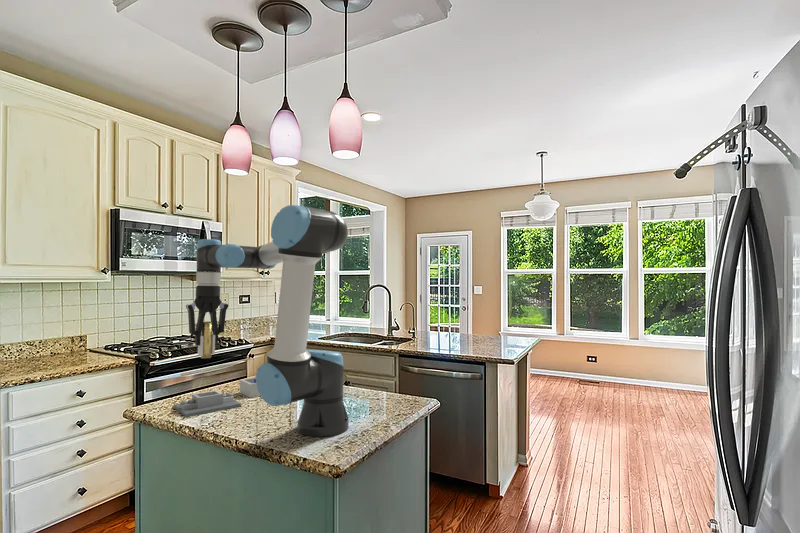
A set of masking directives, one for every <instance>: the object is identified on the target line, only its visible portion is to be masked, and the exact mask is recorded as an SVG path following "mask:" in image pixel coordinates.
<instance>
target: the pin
mask: <svg viewBox="0 0 800 533" xmlns="http://www.w3.org/2000/svg"><path fill="white" fill-rule="evenodd" d="M212 334H213V333H212V322H211V320H210V321H208V320H207V321H205V320H204V322H203V327H202V332H201V335H202V336H203V356H200V359H211V358H212V354H211V350H212Z"/></svg>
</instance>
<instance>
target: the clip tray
mask: <svg viewBox="0 0 800 533" xmlns="http://www.w3.org/2000/svg"><path fill="white" fill-rule="evenodd" d="M254 379H256V376H255V377H250V378H243V379H242V378H241V379H240V380H239V393H240V394H242V395H244V396H246V397H248V398H255V397H261V395H260V393H259V392H258V389H257V385H256V383H254Z"/></svg>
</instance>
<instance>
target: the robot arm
mask: <svg viewBox="0 0 800 533" xmlns="http://www.w3.org/2000/svg"><path fill="white" fill-rule="evenodd" d="M270 229H271V230H270V236H271V237H270V238H271V239H272V240H271V242H267V243H265V244H263V245H260V246H259V245H258V246H251V245H250V246H247V245H238V244H232V243H225V244H222V241H221V240H220V239H215V238H214V239H211V238H208V239H207V238H205V239H204V238H203V239H202V238H201V239H199V240H198V241H197V246H196V247H197V248H196V279H195V280H196V282H195V283H196V286H195V300H194V301H193V302H192V303H190V304H186V305H185V308H186V309H187V314H188V315H187V316H188V317H187V318H188V332H189V334H190V335H193V336H195V337H194V338H195V339H194V340H195V342H194V344H195V346H197V355H198V356H199V357H201V356H203V336H202V327H203V322H205V316H206V314H207V313H208V314H209V317H210V321H211V322H212V350H211V356H212V355H215V354H216V345H217V344H218V343H219V335H220V334H221V333H224V332H225V324H226V314H227V310H228V307H229V304H228V303H224V302H222V300H221V286H220V285H221V275H222V274H221V268H227V269H256V270H257V269H261V270H268V269H274V268H275V266H277V264H280V263H282V270H281V277H280V278H281V279H280V289H279V297H278V298H279V300H278V307H277V316H276V318H277V319H276V326H275V327H276V328H275V335H274V336H275V337H274V338H275V339H274V345H273V348H272V349H271V350H269V351H268V352H267V356H266V362H265V363H262V364H260V366H259V367H257V369H256V372H255V373H256V374H255V377H256V385H257V389H258V392H259V393H260V395H261V396H260V397H261V399H262V400H263V401H264V402H265V403H266V404H267V405H270V406H271V407H279V406H287V405H289V404H292V403H295V402H299V401H302V400H303V405H302V407H301V411H300V412H299V418H298V420H297V428H296V429H297V432H298V433H299V434H302V435H304V436H308V437H319V438H321V437H331V436H335V435H339V434H342V433H344V432H346V431H347V430H348V429H349V417H348V414H347V409H346V406H345V404H344V373H345V372H344V368H345V365H344V356H343V354H342V353H341V352H338V351H334V350H333V351H332V350H322V349H321V350H320V349H307V345H308V337H309V336H308V334H309V327H310V326H309V324H310V315H311V307H312V306H311V305H312V300H313V299H312V298H313V290H314V281H315V280H314V279H315V272H316V271H315V269H316V265H317V263H318V262H320V261H321V260H322V258H323V254H328V253H331V252H335V251H337V250H339V249H341V248H342V247H343V246H344V245H345V243H346V242H347V239H348V237H349V236H348V235H349V231H348V225H347V223H346V221H345V220H344V218H343V217H342V216H341V215H340V214H338V213H337V212H334V211H331V210H326V209H325V210H324V209H320V208H315V207H311V206H306V205H297V204H296V205H294V204H290V205H286V206H284V207H282V208H281V209H280V210H279V211H278V212H277V213H276V215H275V216H274V218H273V220H272V223H271V228H270ZM218 307H219V317H218V318H217V309H218ZM196 308H197V309H198V314H197V315H198V317H197V322H196V317H195V315H196V314H195V309H196Z"/></svg>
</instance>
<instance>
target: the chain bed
mask: <svg viewBox="0 0 800 533" xmlns="http://www.w3.org/2000/svg"><path fill="white" fill-rule="evenodd" d="M241 407H242V404H241V402H238V401H237V400H235V397H234V393H233V392H227V393H223V392H221V391H219V390H210V391H209V390H208V391H203V392H196V393H192V394H191V399H188V400H181V401H180V402H179V403H175V404H173V409H175V410H176V411H178V412H179V413H180V414H181V415H183V417H185V418H189V417H194V416H200V415H203V414H209V413H213V412H215V413H216V412H219V411H225V410H230V409H231V410H232V409H235V408H241Z"/></svg>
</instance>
